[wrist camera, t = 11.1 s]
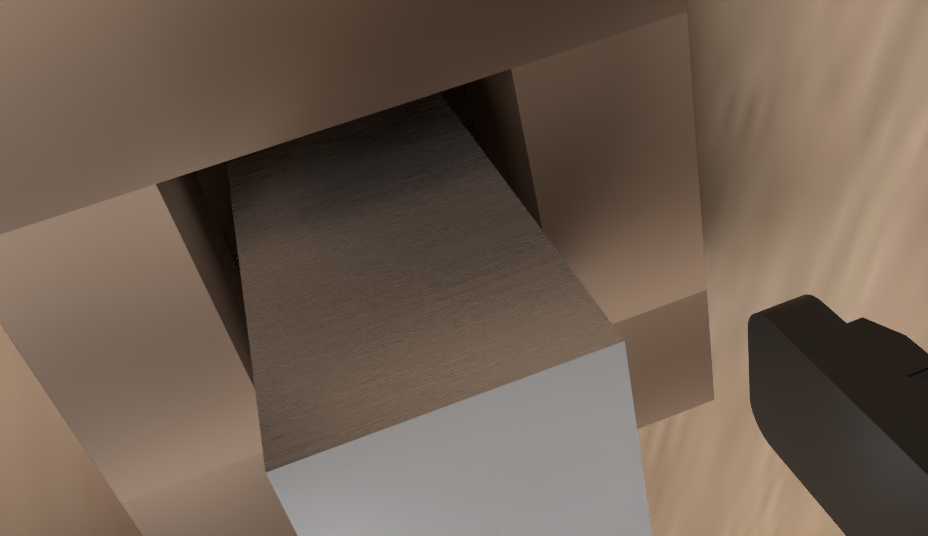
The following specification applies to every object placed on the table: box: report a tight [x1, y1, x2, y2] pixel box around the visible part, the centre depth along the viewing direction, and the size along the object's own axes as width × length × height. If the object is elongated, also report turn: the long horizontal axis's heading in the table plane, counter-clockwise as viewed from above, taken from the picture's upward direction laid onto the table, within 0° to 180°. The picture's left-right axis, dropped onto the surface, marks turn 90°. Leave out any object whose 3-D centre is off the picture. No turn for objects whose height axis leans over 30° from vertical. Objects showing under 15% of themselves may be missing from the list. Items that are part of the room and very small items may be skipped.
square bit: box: [226, 92, 652, 536], centre depth 14 cm, size 4×4×10 cm
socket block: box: [0, 0, 714, 536], centre depth 17 cm, size 12×12×4 cm
